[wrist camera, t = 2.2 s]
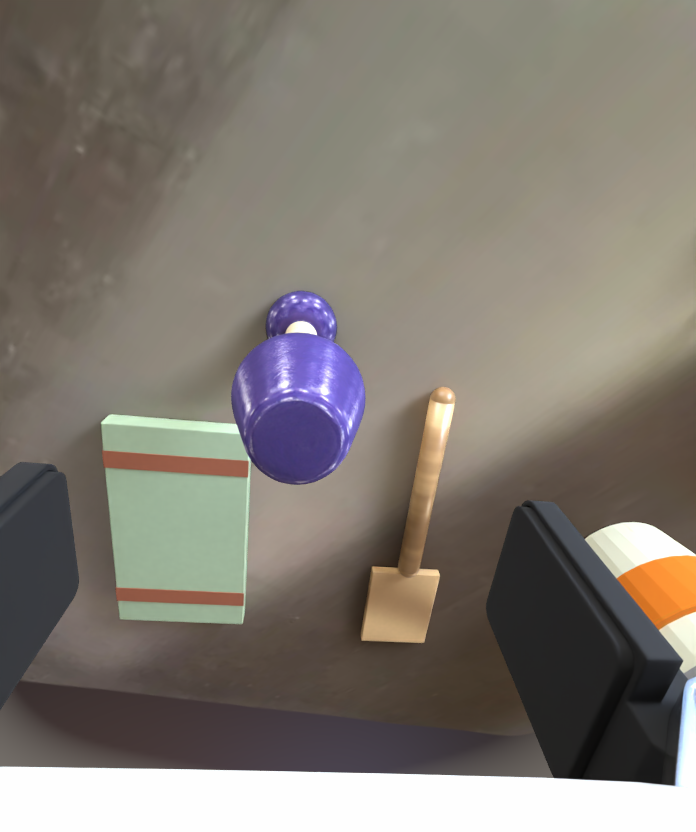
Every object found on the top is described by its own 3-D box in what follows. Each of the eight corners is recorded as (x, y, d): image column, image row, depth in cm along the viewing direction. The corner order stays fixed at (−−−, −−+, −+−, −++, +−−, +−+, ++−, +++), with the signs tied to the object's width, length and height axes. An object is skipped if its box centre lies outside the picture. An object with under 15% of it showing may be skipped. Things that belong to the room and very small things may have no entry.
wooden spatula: (422, 636, 39) (426, 652, 38) (360, 633, 39) (362, 650, 37) (480, 387, 31) (489, 395, 29) (402, 380, 30) (406, 388, 29)
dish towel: (126, 605, 36) (118, 620, 35) (109, 413, 30) (99, 422, 29) (245, 610, 37) (242, 625, 36) (252, 425, 31) (249, 434, 29)
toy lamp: (283, 270, 27) (238, 338, 12) (357, 301, 28) (404, 402, 13) (256, 345, 29) (186, 492, 13) (327, 372, 30) (337, 538, 14)
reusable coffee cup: (506, 583, 37) (616, 798, 24) (630, 472, 34) (844, 647, 20) (605, 648, 41) (752, 868, 27) (726, 554, 37) (964, 750, 24)
